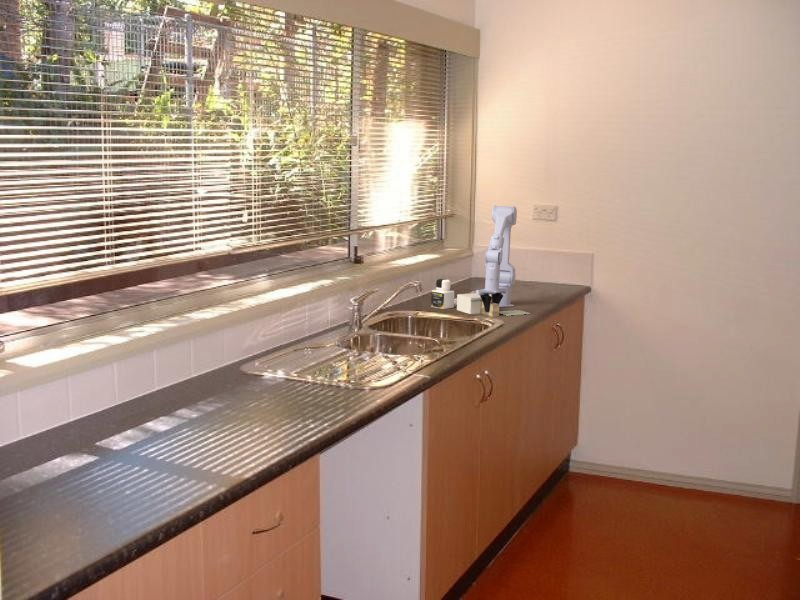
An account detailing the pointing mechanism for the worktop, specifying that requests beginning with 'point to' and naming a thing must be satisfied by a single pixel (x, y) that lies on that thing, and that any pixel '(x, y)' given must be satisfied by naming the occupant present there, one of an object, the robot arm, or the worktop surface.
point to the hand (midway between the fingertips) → (490, 311)
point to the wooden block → (493, 309)
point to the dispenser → (469, 303)
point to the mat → (513, 312)
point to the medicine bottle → (442, 295)
